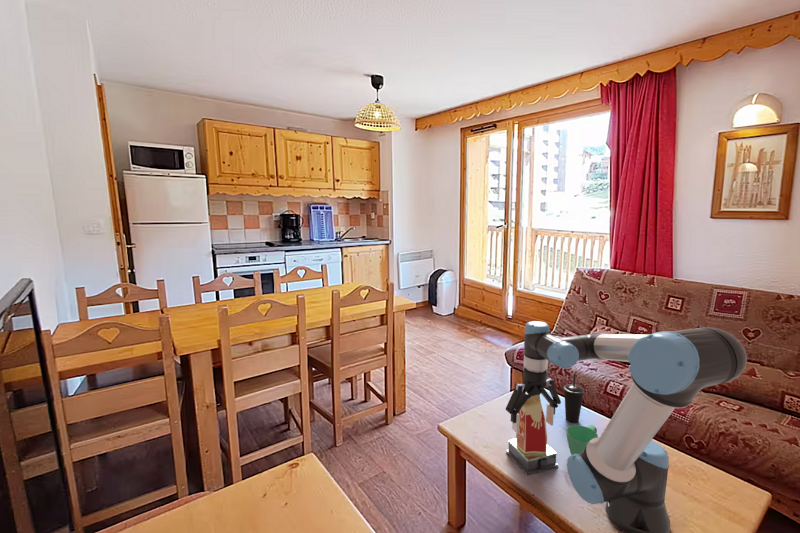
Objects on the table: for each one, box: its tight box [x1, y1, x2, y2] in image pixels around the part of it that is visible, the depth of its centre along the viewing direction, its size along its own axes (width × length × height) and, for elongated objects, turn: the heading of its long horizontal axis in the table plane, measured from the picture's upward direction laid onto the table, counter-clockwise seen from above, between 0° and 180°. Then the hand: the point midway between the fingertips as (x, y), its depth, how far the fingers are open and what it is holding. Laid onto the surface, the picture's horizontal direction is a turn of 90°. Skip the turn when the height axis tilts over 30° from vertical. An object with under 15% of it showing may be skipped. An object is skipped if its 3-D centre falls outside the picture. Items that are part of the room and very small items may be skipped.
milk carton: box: [515, 394, 548, 454], centre depth 129 cm, size 9×9×20 cm
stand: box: [506, 438, 559, 476], centre depth 131 cm, size 12×12×5 cm
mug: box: [565, 424, 599, 456], centre depth 132 cm, size 15×10×10 cm
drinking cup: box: [563, 373, 585, 424], centre depth 154 cm, size 8×8×20 cm
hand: (532, 427), depth 129 cm, fingers open, 13 cm apart
